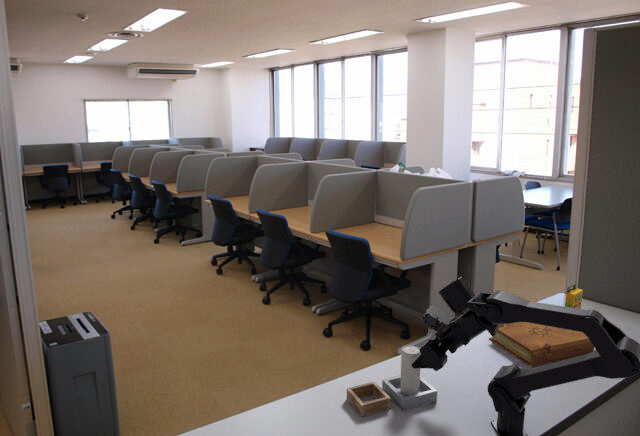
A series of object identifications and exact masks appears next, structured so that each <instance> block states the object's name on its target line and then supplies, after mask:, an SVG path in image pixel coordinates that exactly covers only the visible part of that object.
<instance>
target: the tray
mask: <svg viewBox="0 0 640 436" xmlns="http://www.w3.org/2000/svg"><path fill="white" fill-rule="evenodd" d="M381 380H382V381H381V382H382V383H381V385H382V387H381V389H382V390H383V391H384V392H385V393H386V394H387V395H388V396H389V397H390V398H391V401H393V402H394V403H395V405H397V407H399V408H400V409H401V411H403V412H404V411H409V410H411V409H414V408H415V409H416V408H418V407H421V406H425V405H428V404H429V405H430V404H432V403H436V402H437V401H438V390H437V389H436V388H435V387H433V386H432V384H430V383H429V382H428V381H426V380H425V379H424V378H423V377H422V376H421V375H420V384H419V393H417V394H414V395H410V396H405V395H404V394H403V393H402V392H401V390H400V384H401V374H399V375H395V376H392V377H388V378H384V379H381Z"/></svg>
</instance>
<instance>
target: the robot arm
mask: <svg viewBox="0 0 640 436" xmlns="http://www.w3.org/2000/svg"><path fill="white" fill-rule="evenodd" d="M437 295H439V296H440V298H441V299H442V301H444V303H445V305H447V306H448V308H449V310H450V311H451V312H452V313H454V314H456V313H459V314H460V313H462V312H463V311H465V310H466V309H468V308H469V309H468V310H466V311H465V312H464V313H463V314H461V315H460V316H457V315H455V316H454V317H450V315H448V314H447V313H446V312H444V311H443V310H441V309H440V308H438V307H436V306H435V305H430V306H429V307H428V308H426V310H425V312H424V314H423V315H422V316H421V319H420V322H421V323H422V324H423V325H424V326H425V327H427V328H428V329H430V330H433V331H435V333H434V336H436V337H435V338H434V339H430V338H429V339H428V340H426V341H425V342H424V343H422V345H421V346H420V347H418V348H419V351H420V353H421V355H420V356H419V357H418V358H417V359H416V360H415V361H414V362H413V363H412V364H411V366H412V367H413V368H414V369H418V368H420V369H431V370H433V371H435V372H438V371H440V370H441V369H443V368H444V366H445V365H446V364H447V362H448V358H449V357H448V355H447V353H448V351H449V353H450V354H451V355H453V354H455V353H456V352H457V350H458V349H459V348H462V346H467V345H468V344H469V343H471V341H472V340H473V339H475V338H477V337H478V336H479V335H481V334H482V333H484V332H485V331H487V332H488V333H489V335H490V336H491V337H492V336H495V335H496V333H497V332H498V331H499V327H498V326H499V324H510V323H517V322H528V323H534V324H539V325H545V326H551V327H556V328H562V329H567V330H573V331H579V332H583V333H584V334H585V335H586V336H587V337H588V338H589V340H590V341H591V343H592V344H593V346H594V351H593V352H591V353H589V354H585V355H581V356H578V357H574V358H570V359H565V360H561V361H557V362H552V363H548V364H543V365H539V366H535V367H531V368H528V369H527V368H520V365H519V363H518V362H514V363H513V364H510V365H502V366H501V367H500V369H499V370H498V371H497V373H496V374H495V375H494V376H493V378H492V379H491V381H490V382H489V383H488V385H487V393H488V396H489V397H490V398H491V400H492V403H493V406H494V407H493V408H494V410H495V412H496V413H497V415H496V416H497V418H496V419H490V423H491V425H492V427H493V428H494V430H495V432H496V433H497V434H498V436H530V435H529V433H528V432H527V430H526V428H525V426H524V425H525V415H526V407H525V406H526V404H527V403H528V402H529V399H530V398H531V396H532V394H531V392H534V391H538V390H543V389H546V388H551V387H556V386H561V385H563V384H569V383H573V382H577V381H581V380H586V379H589V378H593V377H600V378H604V379H605V378H606V379H611V380H613V379H614V380H615V379H631V378H633V377H636V375H638V373H639V372H640V343H639V342H638V341H637V340H635V339H634V338H630V337H629V336H628V335H627V334H626V333H625V332H624V331H623V330H622V329H621V328H620V327H618V326H617V325H615V324H614V323H613V322H611V321H609V320H608V318H606V317H605V316H604V315H603V314H602V313H601V312H600V311H599V310H596V309H583V308H581V309H577V308H571V307H565V305H563V306H562V305H556V304H551V303H544V302H537V301H532V300H531V301H530V300H527V299H525V298H523V297H521V296H520V295H517V294H515V293H511V292H508V291H505V290H496V291H494V292H485V291H484V292H483V291H479V292H478V293H477V294H475V293H474V291H472V289H471V288H470V286H469V285H468V284H467V282H466V280H465V279H464V278H463V276H460V277H458V278H457V279H456V280H453V281H452V282H450V283H449V284H448V285H446V286H445V287H442V289H441V290H439V291H438V292H437Z"/></svg>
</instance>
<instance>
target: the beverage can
mask: <svg viewBox="0 0 640 436" xmlns="http://www.w3.org/2000/svg"><path fill="white" fill-rule="evenodd" d="M419 348H420V347H419V346H416V345H412V344H411V345H404V346H402V347H401V351H400V352H401V353H400V354H401V356H400V358H401V359H400V360H401V361H400V375H401V384H400V390H401V392H402V393H403V394H404V395H405V396H410V395H414V394H417V393H419V384H420V376H421V368H418V369H414V368H413V367H412V366H411V364H412V363H413V362H414V361H415V360H416V359H417V358H418V357H419V356H420V355H421V353H420V351H419Z"/></svg>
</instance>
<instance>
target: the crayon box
mask: <svg viewBox="0 0 640 436" xmlns="http://www.w3.org/2000/svg"><path fill="white" fill-rule="evenodd" d="M576 286H577V282H576V283H573V284H572V285H570V286H567V288H566V293H565V298H564V299H565V302H564V307H571V308H577V309H582V301H583V300H582V299H583V293H584V290H583V289H581V288H576Z"/></svg>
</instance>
